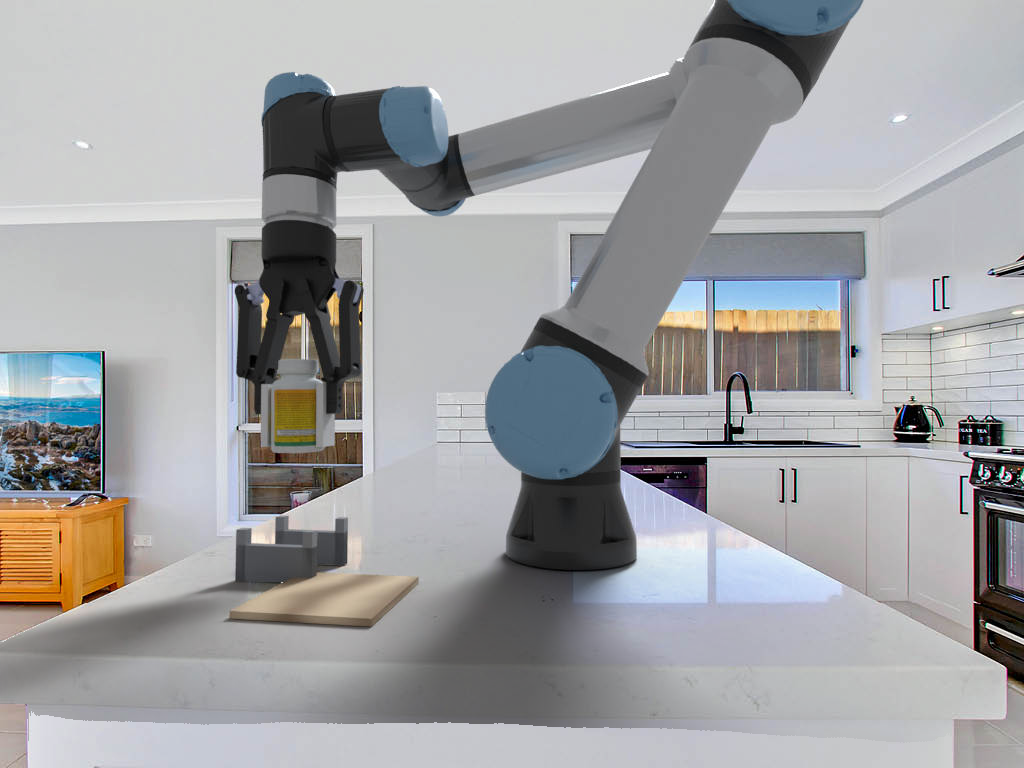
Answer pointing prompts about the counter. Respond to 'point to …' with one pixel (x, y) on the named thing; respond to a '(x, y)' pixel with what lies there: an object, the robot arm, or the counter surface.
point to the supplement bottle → (294, 407)
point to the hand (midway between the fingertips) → (298, 445)
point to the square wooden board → (328, 599)
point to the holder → (290, 552)
